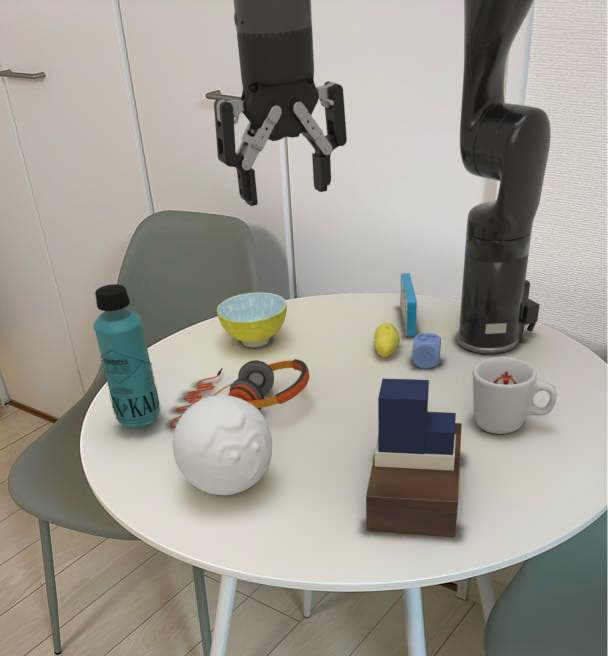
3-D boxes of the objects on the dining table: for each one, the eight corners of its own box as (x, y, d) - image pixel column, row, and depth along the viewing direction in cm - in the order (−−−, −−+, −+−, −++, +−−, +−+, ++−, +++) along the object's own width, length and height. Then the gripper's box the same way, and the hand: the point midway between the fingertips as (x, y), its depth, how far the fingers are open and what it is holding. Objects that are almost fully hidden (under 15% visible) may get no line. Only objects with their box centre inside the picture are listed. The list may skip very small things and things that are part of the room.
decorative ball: (213, 528, 88) (197, 442, 81) (165, 482, 96) (146, 400, 88) (295, 488, 93) (288, 404, 86) (243, 448, 101) (232, 367, 93)
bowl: (207, 349, 124) (202, 313, 120) (247, 322, 131) (243, 287, 127) (264, 363, 119) (260, 326, 115) (302, 333, 126) (300, 298, 122)
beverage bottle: (120, 415, 110) (86, 280, 97) (165, 411, 110) (137, 276, 97) (115, 439, 105) (78, 301, 92) (163, 435, 105) (133, 296, 92)
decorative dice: (438, 369, 114) (439, 344, 111) (411, 368, 115) (412, 343, 112) (440, 357, 117) (441, 332, 114) (414, 356, 118) (415, 332, 115)
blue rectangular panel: (400, 307, 132) (400, 272, 128) (408, 306, 132) (409, 272, 128) (406, 337, 123) (407, 301, 119) (415, 337, 123) (416, 300, 119)
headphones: (169, 445, 107) (300, 425, 100) (154, 413, 104) (288, 390, 97) (204, 387, 120) (323, 366, 113) (192, 357, 116) (313, 334, 110)
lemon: (370, 360, 117) (370, 337, 115) (376, 338, 123) (376, 315, 121) (397, 361, 117) (397, 338, 114) (402, 338, 123) (402, 315, 120)
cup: (553, 415, 102) (563, 361, 97) (547, 446, 97) (557, 391, 91) (473, 405, 105) (478, 353, 100) (463, 436, 100) (468, 382, 95)
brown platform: (380, 452, 98) (380, 419, 95) (458, 456, 96) (461, 423, 93) (366, 531, 86) (365, 496, 83) (455, 537, 84) (458, 501, 81)
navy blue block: (374, 466, 87) (374, 398, 81) (378, 444, 91) (378, 377, 85) (453, 471, 86) (459, 401, 80) (454, 448, 89) (460, 380, 83)
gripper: (219, 36, 70) (239, 218, 80) (355, 18, 74) (358, 193, 84) (193, 29, 75) (216, 200, 85) (322, 12, 79) (328, 178, 89)
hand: (286, 197), depth 85 cm, fingers open, 8 cm apart
